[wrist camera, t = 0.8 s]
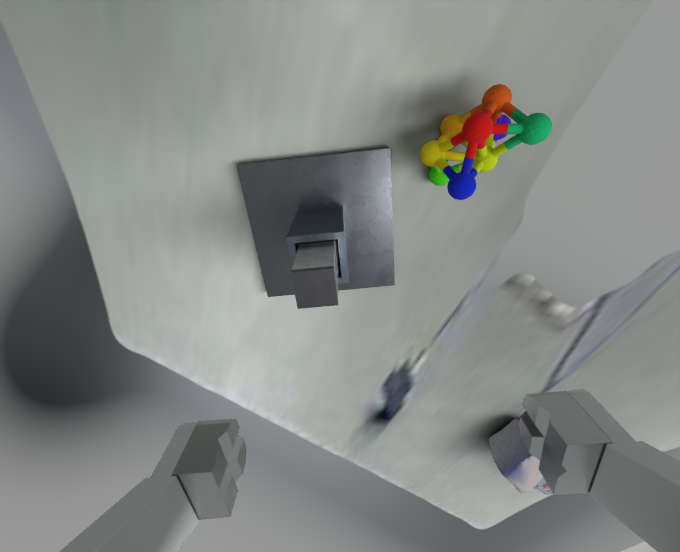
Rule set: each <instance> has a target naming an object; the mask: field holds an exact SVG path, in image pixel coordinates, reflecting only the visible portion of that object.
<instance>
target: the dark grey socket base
mask: <svg viewBox="0 0 680 552" xmlns="http://www.w3.org/2000/svg"><path fill="white" fill-rule="evenodd" d="M237 168H238V173H239V177H240V181H241V185H242V189H243V194H244V198H245V202H246V206H247V210H248V215H249V219H250V223H251V227H252V231H253V236H254V240H255V244H256V248H257V252H258V256H259V261H260V265H261V269H262V273H263V277H264V282H265V286H266V290H267V294H268V297H272V296H283V295H294V294H295V291H294V286H293V281H292V276H291V271H292V267H293V264H294V260H295V257H296V254H297V250H298V247H299V243H303V242H313V241H323V240H333V239H338V259H339V263H338V290H348V289H358V288H369V287H380V286H391V285H395V284H394V251H393V218H392V185H391V152H390V148H389V147H387V148H378V149H369V150H360V151H351V152H342V153H333V154H324V155H315V156H306V157H297V158H288V159H279V160H270V161H261V162H252V163H243V164H239V165H237Z"/></svg>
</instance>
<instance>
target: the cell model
mask: <svg viewBox="0 0 680 552" xmlns="http://www.w3.org/2000/svg"><path fill="white" fill-rule="evenodd" d="M519 422H520V420H519V419H513V420H512V421H511V422H510V423H509V424H508V425H507V426H506V427H504V428H503V429H502V430H500V431H499V432H497V433H495V434H494V435H492V436H491V437H490V438H489V444H490V447H491V451H492V455H493V458H494V460H495V463H496V465H497V467H498V469H499V471H500V472H501V473H502V475H503V476H504V477H505V478H507V479H508V480H509V481H510V482H511V483H512V484H513V485H514V486H515V487H516V489H517V490H518V491H519V492H523V493H525V492H528V491H530V490H531V489H532V488H535V489H539V491H541V492H543V493H544V494H547V495H548V494H552V491H551V489H550V488H549V486H548V484H547V482H546V481H545V479H544V477H543V476H542V474H541V472H540V471H539V463H540V460H539V459H537V458H536V457H534V456H533V455H531V454H530V453H529V452H528V450H527V448H526V446H525V445H524V442H523V440H522V437H521V433H520V428H519Z"/></svg>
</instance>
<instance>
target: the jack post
mask: <svg viewBox="0 0 680 552" xmlns="http://www.w3.org/2000/svg"><path fill="white" fill-rule="evenodd" d="M338 263H339V259H338V239H333V240H323V241H313V242H303V243H299V247H298V250H297V254H296V257H295V260H294V264H293V267H292V271H291V276H292V281H293V286H294V291H295V297H296V302H297V307H298V309H300V308H311V307H322V306H333V305H338Z"/></svg>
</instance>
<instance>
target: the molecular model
mask: <svg viewBox="0 0 680 552" xmlns="http://www.w3.org/2000/svg"><path fill="white" fill-rule="evenodd" d="M511 98H512V94H511V91H510V89H509V88H508V87H507V86H505V85H501V84H498V85H494V86H492V87H491V88H489V89H488V90H487V91H486V92H485V94H484V96H483V99H482V104H481V105H479V106H477V107H476V108H474V109H472V110H471V111H470V112H468V113H466V114H465V115H463V116H462V117H461V116H460V115H458V114H450V115H448V116H447V117H445V118H444V119H443V121H442V123H441V125H440V132H441V134H442V135H441V136H440V138H439V139H438V140H432V141H428V142H427V143H425V144H424V145H423V146H422V148H421V151H420V159H421V161H422V163H423V164H425V165H426V166H429V167H432V168H431V169H430V172H429V178H430V181H431V182H432V183H433V184H435V185H444V184H446V183H448V192H449V194H450V195H451V196H452V197H453V198H455V199H458V200H463V199H466V198H468V197H470V196H471V195H472V194H473V193H474V191H475V189H476V181H475V176H476V175H477V174H478V173H479V172H487V171H489V170H491V169H493V168H494V166H495V165H496V163H497V161H498V156H499V155H501V154H502V153H504V152H506V151H508V150H509V149H511V148H513V147H514V146H516V145H518V144H519V143H521V142H524V143H526V144H529V145H532V144H537V143H539V142H541V141H543V140H545V139H546V138H547V136H548V135H549V133H550V131H551V128H552V123H551V120H550V118H549V117H548V116H547V115H545V114H542V113H535V114H531V115H529V116H526V115H525V114H524V113H522V112H521V111H520V110H518V109H517V108H516V107H514V106H513V105H512V104H510V102H511ZM502 112H504V113H505V114H507V115H508V116H509V117H510V118H512V119H513V120H514V121H515V122H517V123H518V124H511V121H510V119H509V118H508V117H507V116H506V115H502ZM507 134H517V135H515V136H513V137H512V138H510V139H509V140H507V141H505V142H504V143H502V144H501V145H499V146H497V147H496V148H494V146H495V144H496V141H497V140H499V139H502V138H504V137H505V136H506V135H507ZM460 143H462V144H463V145H464V146H465V147H466V148H467V150H466V153H462V152H453V151H450V150H451V148H453V147H455V146H456V145H458V144H460ZM448 160H454V161H463V163H460V164H457V165H454V166H451V167H450V165H449V164H448V163H447V161H448ZM460 171H461V172H460ZM457 172H459V173H457ZM448 181H449V182H448Z"/></svg>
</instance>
